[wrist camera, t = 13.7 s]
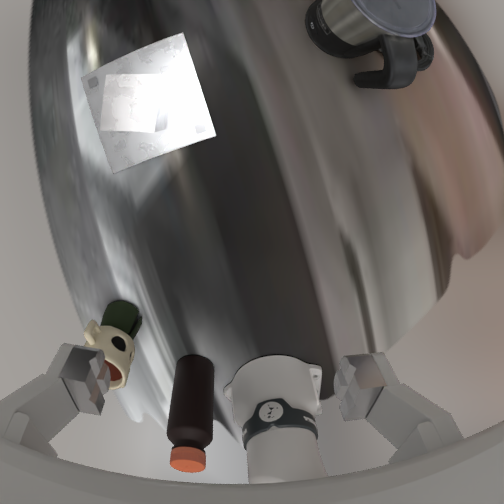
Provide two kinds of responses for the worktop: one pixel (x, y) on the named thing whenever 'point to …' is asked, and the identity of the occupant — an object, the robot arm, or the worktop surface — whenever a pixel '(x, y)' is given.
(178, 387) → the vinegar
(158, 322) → the worktop surface
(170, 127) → the plate
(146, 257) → the worktop surface
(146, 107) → the chalk-like cube
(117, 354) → the character mug
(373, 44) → the milk frother
